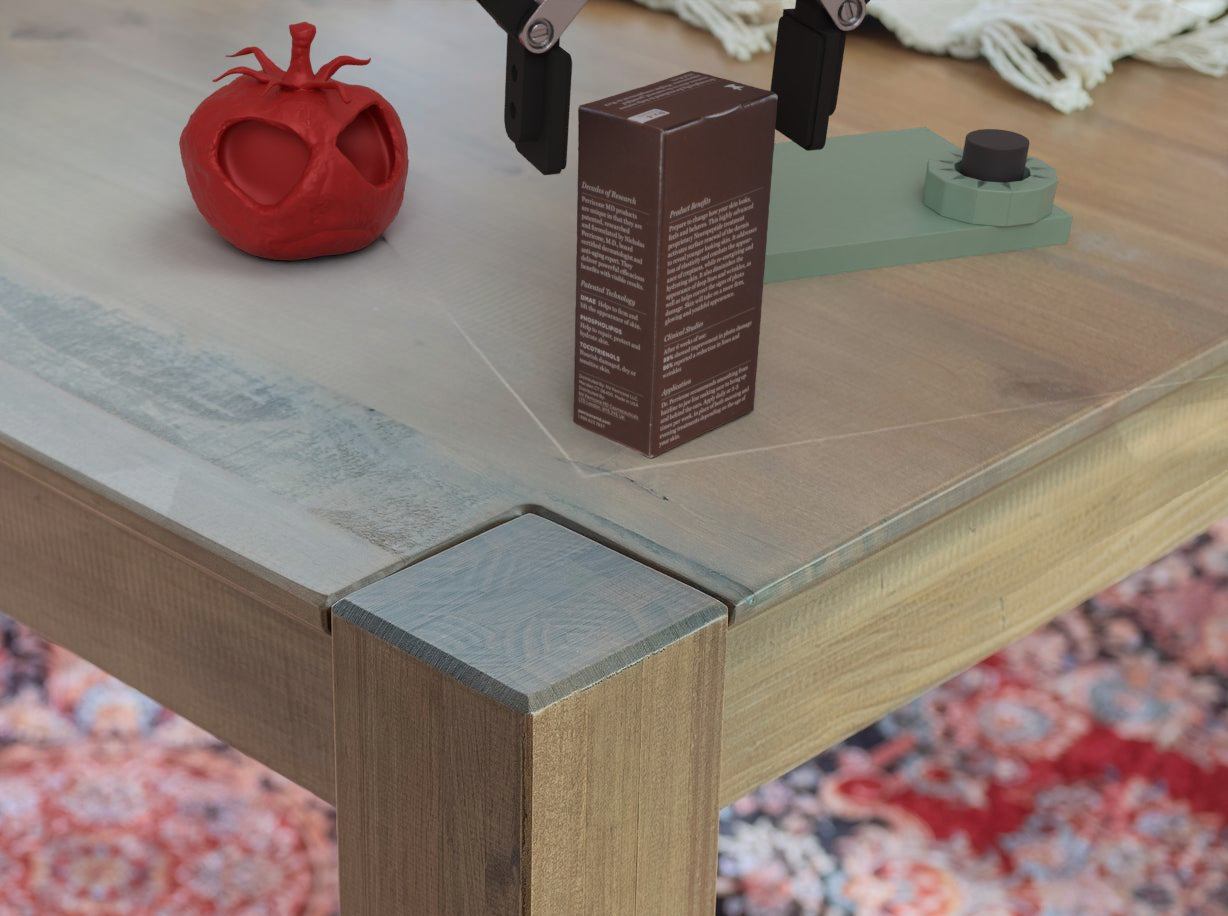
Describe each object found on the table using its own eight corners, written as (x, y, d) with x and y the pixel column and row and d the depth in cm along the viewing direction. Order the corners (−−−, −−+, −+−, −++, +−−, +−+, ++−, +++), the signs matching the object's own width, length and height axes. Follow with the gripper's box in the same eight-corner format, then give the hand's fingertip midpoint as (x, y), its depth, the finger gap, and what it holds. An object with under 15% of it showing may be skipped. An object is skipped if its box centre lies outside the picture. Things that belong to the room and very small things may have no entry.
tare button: (1000, 164, 88) (1007, 126, 86) (1034, 184, 85) (1042, 145, 84) (947, 170, 87) (954, 132, 86) (980, 190, 85) (987, 151, 84)
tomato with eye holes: (169, 210, 89) (151, 2, 83) (376, 188, 91) (371, -14, 86) (213, 290, 81) (197, 67, 75) (437, 264, 84) (437, 47, 78)
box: (667, 377, 75) (692, 64, 68) (756, 416, 72) (791, 94, 65) (559, 423, 71) (573, 99, 64) (648, 465, 69) (672, 131, 62)
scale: (921, 154, 96) (930, 94, 95) (1072, 248, 86) (1085, 183, 85) (631, 186, 92) (635, 124, 90) (754, 290, 82) (761, 222, 80)
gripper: (487, -422, 50) (469, 211, 60) (1047, -420, 55) (944, 164, 65) (400, -446, 56) (397, 136, 66) (915, -442, 61) (839, 98, 71)
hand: (669, 149), depth 66 cm, fingers open, 9 cm apart
